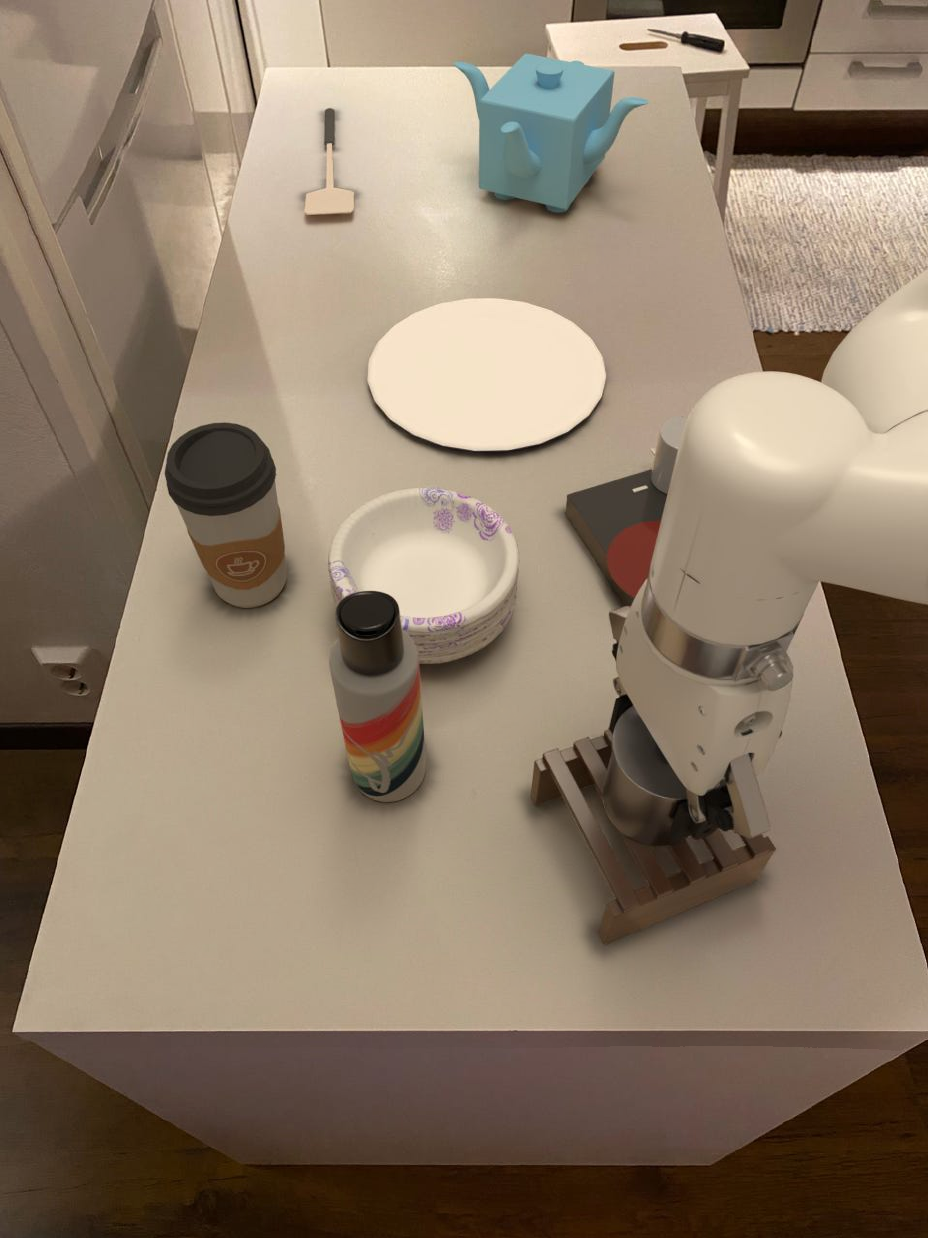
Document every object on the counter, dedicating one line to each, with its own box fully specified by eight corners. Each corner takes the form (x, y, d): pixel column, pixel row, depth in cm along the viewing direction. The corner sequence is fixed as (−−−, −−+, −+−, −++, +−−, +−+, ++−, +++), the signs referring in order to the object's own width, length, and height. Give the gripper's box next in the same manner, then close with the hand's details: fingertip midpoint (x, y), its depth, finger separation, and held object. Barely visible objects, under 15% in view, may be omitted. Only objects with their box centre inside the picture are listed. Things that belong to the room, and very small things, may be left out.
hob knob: (643, 466, 88) (653, 418, 83) (687, 458, 89) (699, 410, 84) (661, 499, 85) (672, 451, 81) (706, 490, 86) (720, 442, 81)
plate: (422, 286, 110) (421, 277, 109) (631, 334, 104) (633, 324, 103) (327, 422, 96) (325, 412, 95) (564, 485, 90) (565, 475, 89)
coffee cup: (205, 627, 80) (159, 502, 68) (201, 554, 85) (158, 425, 73) (304, 610, 81) (276, 484, 69) (294, 539, 86) (266, 410, 74)
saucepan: (581, 773, 65) (593, 709, 58) (739, 713, 68) (768, 646, 61) (631, 866, 61) (650, 809, 54) (796, 798, 64) (834, 736, 57)
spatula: (305, 225, 118) (304, 213, 117) (308, 113, 135) (307, 102, 134) (354, 222, 118) (353, 211, 117) (351, 111, 136) (350, 100, 135)
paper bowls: (526, 557, 85) (531, 494, 78) (501, 699, 76) (504, 641, 69) (360, 536, 86) (352, 472, 80) (317, 673, 77) (303, 613, 71)
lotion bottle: (349, 804, 70) (314, 648, 54) (353, 737, 73) (322, 571, 58) (426, 803, 70) (414, 647, 54) (427, 736, 74) (416, 571, 58)
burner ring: (683, 509, 85) (683, 508, 85) (741, 586, 79) (741, 586, 79) (587, 540, 83) (587, 539, 82) (640, 621, 77) (640, 620, 77)
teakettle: (576, 142, 130) (586, 23, 119) (638, 210, 120) (657, 87, 108) (447, 167, 126) (445, 47, 115) (500, 239, 116) (503, 115, 104)
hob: (686, 456, 92) (691, 436, 90) (780, 575, 83) (789, 555, 81) (554, 496, 89) (556, 476, 87) (637, 625, 80) (641, 605, 78)
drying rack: (671, 742, 73) (685, 700, 68) (756, 880, 66) (779, 845, 62) (530, 795, 70) (534, 756, 66) (604, 945, 64) (615, 913, 59)
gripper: (892, 722, 43) (787, 874, 57) (694, 472, 53) (646, 655, 67) (750, 778, 41) (678, 921, 55) (573, 510, 51) (550, 689, 65)
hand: (661, 775), depth 61 cm, fingers closed on saucepan, 7 cm apart
